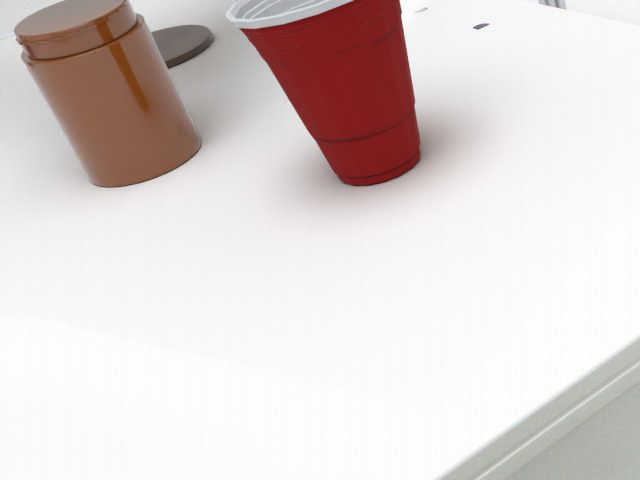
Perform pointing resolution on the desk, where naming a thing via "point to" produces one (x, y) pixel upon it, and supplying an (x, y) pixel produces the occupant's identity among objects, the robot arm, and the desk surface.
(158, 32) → the coaster
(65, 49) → the jar
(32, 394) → the desk surface
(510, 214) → the desk surface
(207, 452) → the desk surface
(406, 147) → the plastic cup
